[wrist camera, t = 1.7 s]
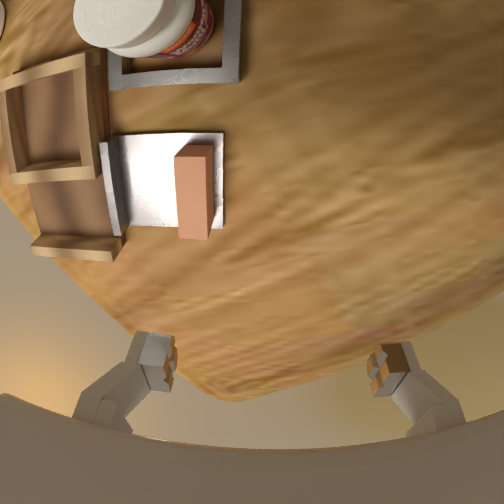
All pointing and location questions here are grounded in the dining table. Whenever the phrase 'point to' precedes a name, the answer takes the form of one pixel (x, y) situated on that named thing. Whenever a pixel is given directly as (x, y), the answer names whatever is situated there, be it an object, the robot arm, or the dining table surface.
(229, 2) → the socket collar
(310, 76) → the dining table surface
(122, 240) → the rack
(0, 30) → the jar
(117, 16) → the pill bottle
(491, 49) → the dining table surface
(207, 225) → the pink rectangular block
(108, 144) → the grey metal lipped plate
